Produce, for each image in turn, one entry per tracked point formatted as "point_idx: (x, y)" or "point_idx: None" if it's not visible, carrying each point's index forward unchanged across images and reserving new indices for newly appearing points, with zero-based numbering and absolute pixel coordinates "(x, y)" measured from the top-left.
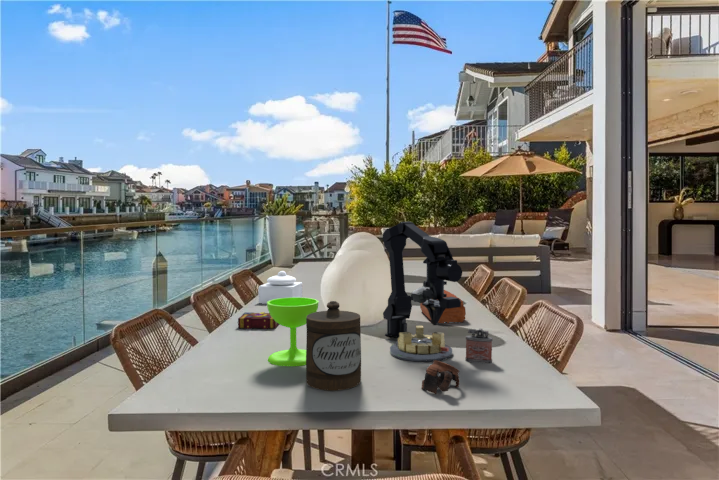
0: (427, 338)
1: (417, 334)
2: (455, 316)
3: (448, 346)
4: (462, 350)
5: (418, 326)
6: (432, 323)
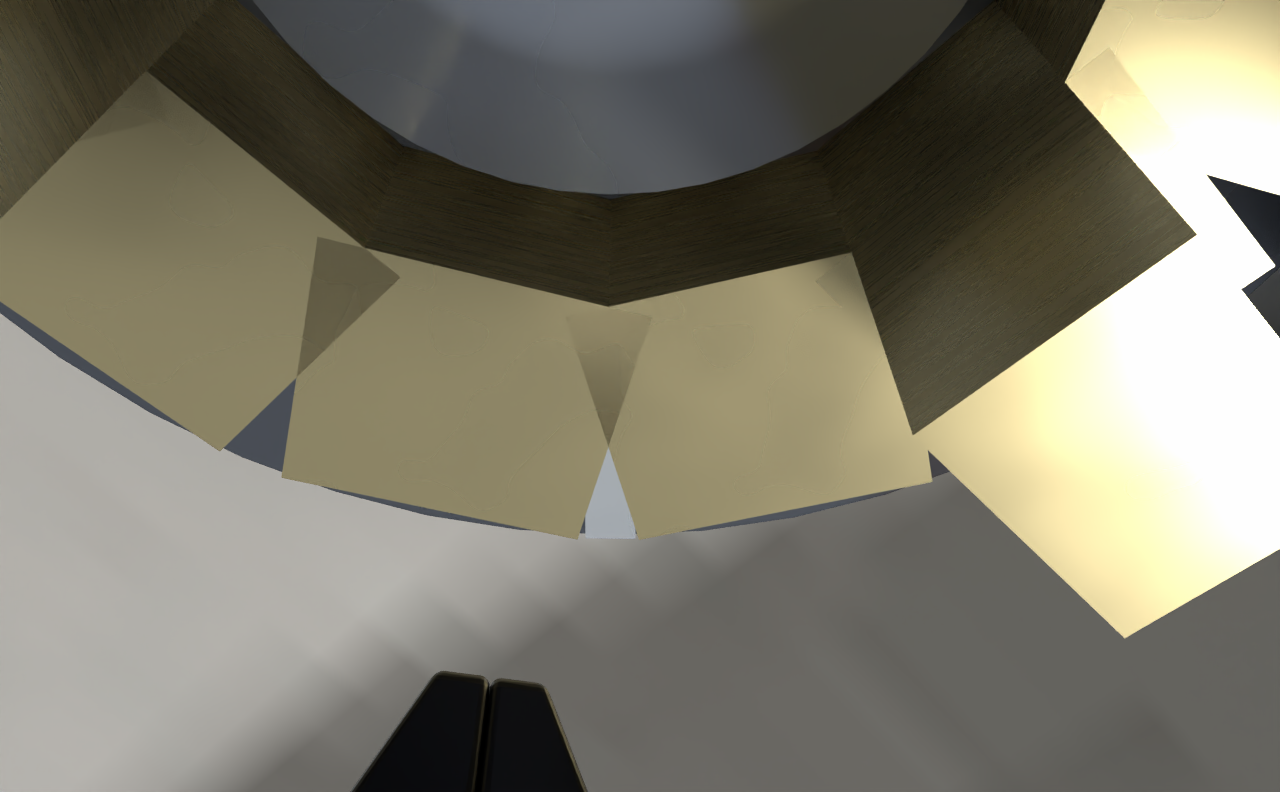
0: (606, 169)
1: (1049, 142)
2: None
3: (265, 444)
4: (161, 584)
5: (1209, 446)
6: (547, 722)
